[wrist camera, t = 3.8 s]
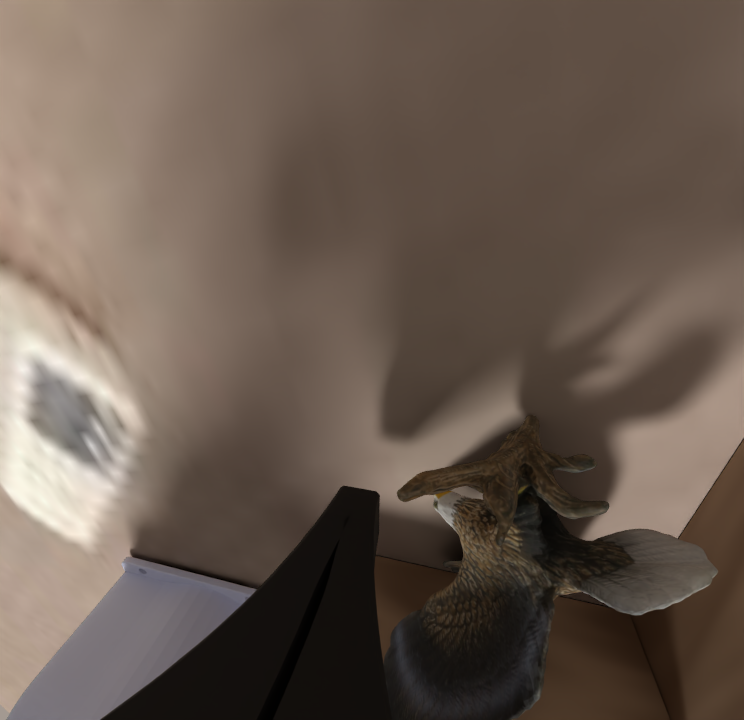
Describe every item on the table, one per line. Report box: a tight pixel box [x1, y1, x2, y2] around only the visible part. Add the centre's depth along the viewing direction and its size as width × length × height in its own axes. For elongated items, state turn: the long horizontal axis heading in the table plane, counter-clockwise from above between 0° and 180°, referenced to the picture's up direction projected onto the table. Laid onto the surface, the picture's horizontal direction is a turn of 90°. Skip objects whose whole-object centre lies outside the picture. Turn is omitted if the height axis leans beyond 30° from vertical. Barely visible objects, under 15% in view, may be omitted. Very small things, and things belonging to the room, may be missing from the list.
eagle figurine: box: [383, 415, 718, 720], centre depth 10 cm, size 8×7×9 cm
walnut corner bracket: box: [374, 440, 744, 720], centre depth 11 cm, size 15×16×4 cm
